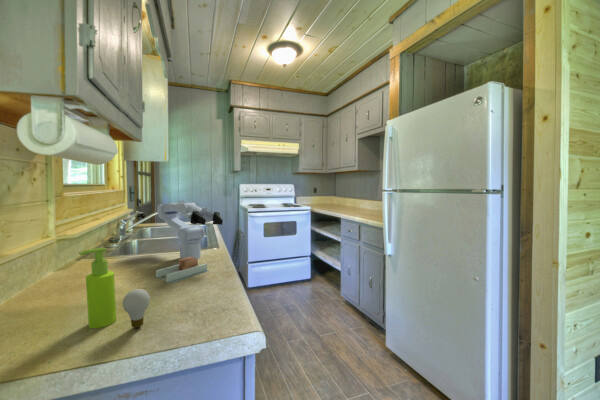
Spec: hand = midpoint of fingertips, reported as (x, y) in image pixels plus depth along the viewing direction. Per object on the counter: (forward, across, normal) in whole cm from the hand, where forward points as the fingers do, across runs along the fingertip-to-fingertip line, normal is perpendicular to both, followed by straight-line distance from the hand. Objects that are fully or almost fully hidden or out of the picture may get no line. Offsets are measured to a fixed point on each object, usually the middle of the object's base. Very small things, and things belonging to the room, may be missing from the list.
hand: (213, 222), depth 109 cm
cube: (0, -7, +20) cm, 21 cm away
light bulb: (+27, -32, +21) cm, 47 cm away
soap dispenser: (+18, -38, +23) cm, 48 cm away
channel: (0, -9, +22) cm, 24 cm away
